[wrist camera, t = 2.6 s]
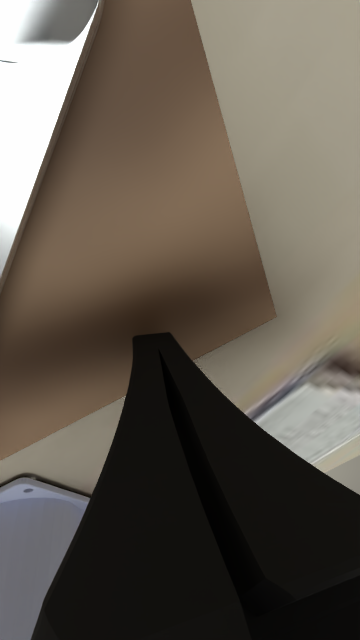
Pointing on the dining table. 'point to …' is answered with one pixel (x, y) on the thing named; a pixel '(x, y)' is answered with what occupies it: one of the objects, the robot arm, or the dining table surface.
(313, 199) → the dining table surface
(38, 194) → the board
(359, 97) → the dining table surface
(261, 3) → the dining table surface
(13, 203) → the link
